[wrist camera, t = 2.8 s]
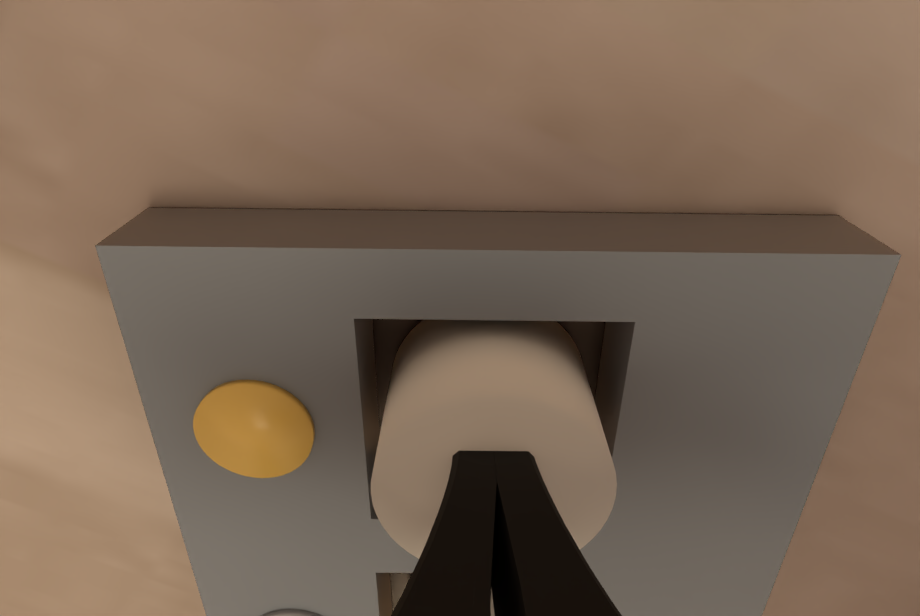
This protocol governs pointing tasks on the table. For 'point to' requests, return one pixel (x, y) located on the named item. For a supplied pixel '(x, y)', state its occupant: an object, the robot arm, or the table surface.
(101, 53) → the table surface
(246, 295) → the button board
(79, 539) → the table surface
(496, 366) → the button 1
